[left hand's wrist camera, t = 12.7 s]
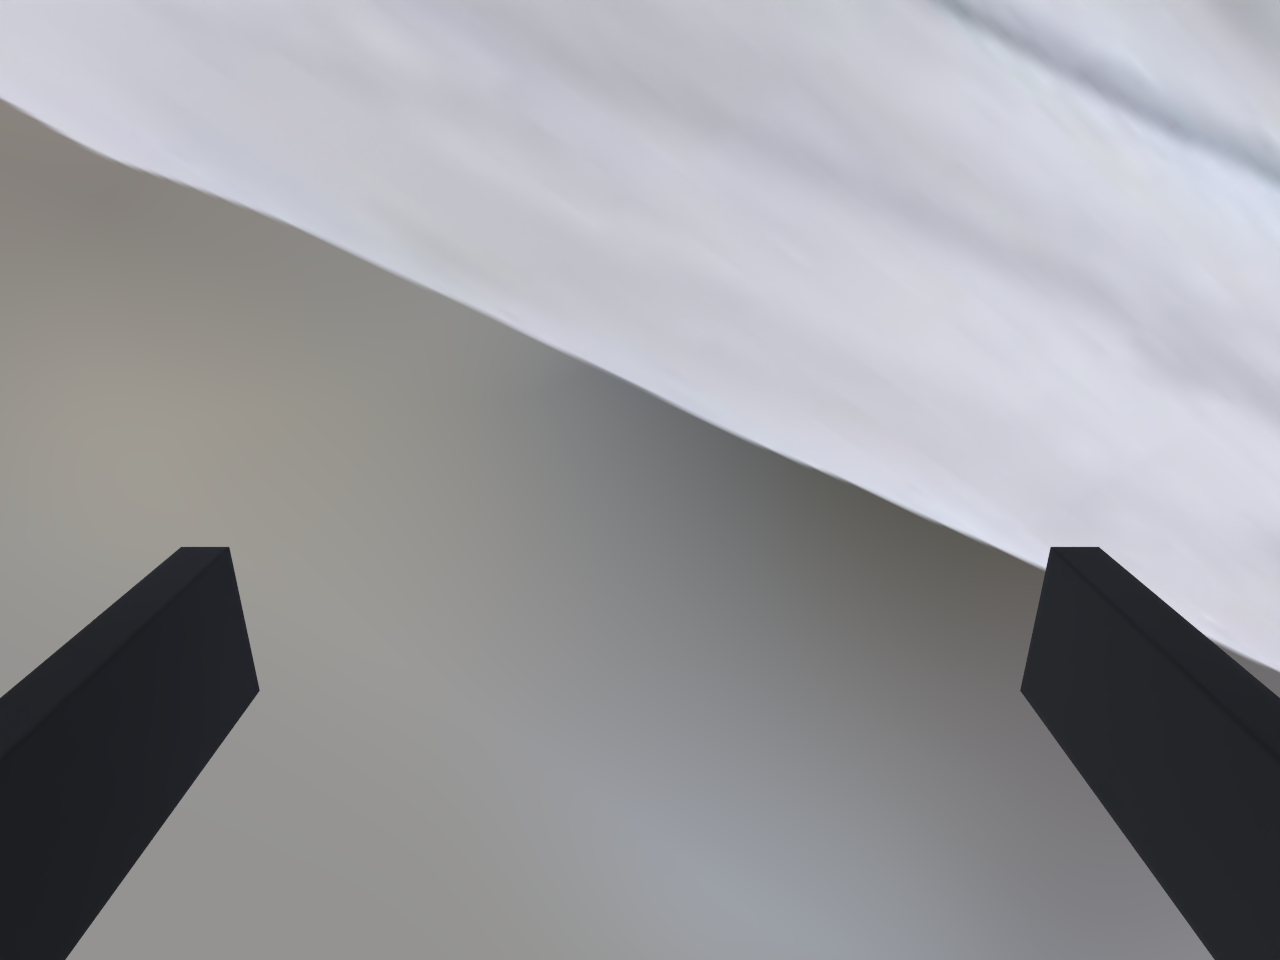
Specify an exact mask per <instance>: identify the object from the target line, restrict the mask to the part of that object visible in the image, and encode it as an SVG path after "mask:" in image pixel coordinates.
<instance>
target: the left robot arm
mask: <svg viewBox="0 0 1280 960" xmlns="http://www.w3.org/2000/svg"><path fill="white" fill-rule="evenodd" d="M1020 691H1021V692H1022V694H1023V695H1024V696H1025V698H1026V699H1027V700H1028V702H1029V703H1030V705H1031V706H1032V707H1033V709H1034V710H1035V712H1036V713H1037V714H1038V716H1039V717H1040V718H1041V720H1042V721H1043V723H1044V724H1045V725H1046V727H1047V728H1048V730H1049V731H1050V732H1051V734H1052V735H1053V736H1054V738H1055V739H1056V741H1057V742H1058V743H1059V745H1060V746H1061V748H1062V749H1063V750H1064V752H1065V753H1066V754H1067V756H1068V757H1069V759H1070V760H1071V761H1072V763H1073V764H1074V766H1075V767H1076V768H1077V770H1078V771H1079V772H1080V774H1081V775H1082V777H1083V778H1084V779H1085V781H1086V782H1087V784H1088V785H1089V786H1090V788H1091V789H1092V790H1093V792H1094V793H1095V795H1096V796H1097V797H1098V799H1099V800H1100V802H1101V803H1102V804H1103V806H1104V807H1105V808H1106V810H1107V811H1108V813H1109V814H1110V815H1111V817H1112V818H1113V820H1114V821H1115V822H1116V824H1117V825H1118V826H1119V828H1120V829H1121V831H1122V832H1123V833H1124V835H1125V836H1126V838H1127V839H1128V840H1129V842H1130V843H1131V844H1132V846H1133V847H1134V849H1135V850H1136V851H1137V853H1138V854H1139V856H1140V857H1141V858H1142V860H1143V861H1144V862H1145V864H1146V865H1147V867H1148V868H1149V869H1150V871H1151V872H1152V874H1153V875H1154V876H1155V878H1156V879H1157V880H1158V882H1159V883H1160V885H1161V886H1162V887H1163V889H1164V890H1165V892H1166V893H1167V894H1168V896H1169V897H1170V898H1171V900H1172V901H1173V903H1174V904H1175V905H1176V907H1177V908H1178V910H1179V911H1180V912H1181V914H1182V915H1183V916H1184V918H1185V919H1186V921H1187V922H1188V923H1189V925H1190V926H1191V927H1192V929H1193V930H1194V932H1195V933H1196V934H1197V936H1198V937H1199V939H1200V940H1201V941H1202V943H1203V944H1204V946H1205V947H1206V948H1207V950H1208V951H1209V952H1210V954H1211V955H1212V957H1213V958H1214V959H1215V960H1280V698H1279V697H1278V696H1277V695H1275V694H1274V693H1273V692H1272V691H1270V690H1269V689H1268V688H1267V687H1266V686H1264V685H1263V684H1262V683H1261V682H1260V681H1259V680H1257V679H1256V678H1255V677H1254V676H1253V675H1251V674H1250V673H1249V672H1248V671H1247V670H1245V669H1244V668H1243V667H1242V666H1241V665H1239V664H1238V663H1237V662H1236V661H1235V660H1233V659H1232V658H1231V657H1230V656H1229V655H1227V654H1226V653H1225V652H1224V651H1223V650H1221V649H1220V648H1219V647H1218V646H1217V645H1215V644H1214V643H1213V642H1212V641H1211V640H1209V639H1208V638H1207V637H1206V636H1205V635H1203V634H1202V633H1201V632H1200V631H1199V630H1197V629H1196V628H1195V627H1194V626H1193V625H1191V624H1190V623H1189V622H1188V621H1187V620H1186V619H1184V618H1183V617H1182V616H1181V615H1180V614H1178V613H1177V612H1176V611H1175V610H1174V609H1172V608H1171V607H1170V606H1169V605H1168V604H1166V603H1165V602H1164V601H1163V600H1162V599H1160V598H1159V597H1158V596H1157V595H1156V594H1154V593H1153V592H1152V591H1151V590H1150V589H1148V588H1147V587H1146V586H1145V585H1144V584H1142V583H1141V582H1140V581H1139V580H1138V579H1136V578H1135V577H1134V576H1133V575H1132V574H1130V573H1129V572H1128V571H1127V570H1126V569H1124V568H1123V567H1122V566H1121V565H1120V564H1118V563H1117V562H1116V561H1115V560H1114V559H1112V558H1111V557H1110V556H1109V555H1108V554H1106V553H1105V552H1104V551H1103V550H1102V549H1100V548H1099V547H1051V549H1050V553H1049V558H1048V563H1047V567H1046V572H1045V577H1044V582H1043V586H1042V591H1041V596H1040V601H1039V605H1038V610H1037V615H1036V620H1035V624H1034V629H1033V634H1032V638H1031V643H1030V648H1029V653H1028V657H1027V662H1026V667H1025V671H1024V676H1023V681H1022V685H1021V690H1020ZM258 692H259V686H258V681H257V676H256V671H255V667H254V662H253V657H252V653H251V648H250V643H249V638H248V634H247V629H246V624H245V620H244V615H243V610H242V605H241V600H240V596H239V591H238V586H237V582H236V577H235V572H234V567H233V563H232V558H231V553H230V549H229V547H181V548H180V549H178V550H177V551H176V552H175V553H174V554H172V555H171V556H170V557H169V558H168V559H166V560H165V561H164V562H163V563H162V564H160V565H159V566H158V567H157V568H156V569H154V570H153V571H152V572H151V573H150V574H148V575H147V576H146V577H145V578H144V579H143V580H141V581H140V582H139V583H138V584H136V585H135V586H134V587H133V588H132V589H130V590H129V591H128V592H127V593H126V594H124V595H123V596H122V597H121V598H120V599H118V600H117V601H116V602H115V603H114V604H112V605H111V606H110V607H109V608H108V609H107V610H105V611H104V612H103V613H102V614H100V615H99V616H98V617H97V618H96V619H94V620H93V621H92V622H91V623H90V624H89V625H87V626H86V627H85V628H84V629H83V630H81V631H80V632H79V633H78V634H77V635H75V636H74V637H73V638H72V639H71V640H69V641H68V642H67V643H66V644H65V645H63V646H62V647H61V648H60V649H59V650H57V651H56V652H55V653H54V654H53V655H51V656H50V657H49V658H48V659H47V660H45V661H44V662H43V663H42V664H41V665H39V666H38V667H37V668H36V669H35V670H34V671H32V672H31V673H30V674H29V675H27V676H26V677H25V678H24V679H23V680H21V681H20V682H19V683H18V684H17V685H15V686H14V687H13V688H12V689H11V690H9V691H8V692H7V693H6V694H5V695H3V696H2V697H1V698H0V960H65V959H66V958H67V957H68V955H69V954H70V952H71V951H72V950H73V948H74V947H75V946H76V944H77V943H78V941H79V940H80V939H81V937H82V936H83V934H84V933H85V932H86V930H87V929H88V928H89V926H90V925H91V923H92V922H93V921H94V919H95V918H96V916H97V915H98V914H99V912H100V911H101V910H102V908H103V907H104V905H105V904H106V903H107V901H108V900H109V898H110V897H111V896H112V894H113V893H114V892H115V890H116V889H117V887H118V886H119V884H120V883H121V882H122V880H123V879H124V878H125V876H126V875H127V874H128V872H129V871H130V869H131V868H132V867H133V865H134V864H135V862H136V861H137V860H138V858H139V857H140V856H141V854H142V853H143V851H144V850H145V849H146V847H147V846H148V844H149V843H150V842H151V840H152V839H153V838H154V836H155V835H156V833H157V832H158V831H159V829H160V828H161V826H162V825H163V824H164V822H165V821H166V819H167V818H168V817H169V815H170V814H171V813H172V811H173V810H174V808H175V807H176V806H177V804H178V803H179V801H180V800H181V799H182V797H183V796H184V795H185V793H186V792H187V790H188V789H189V788H190V786H191V785H192V784H193V782H194V781H195V779H196V778H197V777H198V775H199V774H200V772H201V771H202V770H203V768H204V767H205V765H206V764H207V763H208V761H209V760H210V759H211V757H212V756H213V754H214V753H215V752H216V750H217V749H218V748H219V746H220V745H221V743H222V742H223V741H224V739H225V738H226V736H227V735H228V734H229V732H230V731H231V730H232V728H233V727H234V725H235V724H236V723H237V721H238V720H239V718H240V717H241V716H242V714H243V713H244V712H245V710H246V709H247V707H248V706H249V705H250V703H251V702H252V700H253V699H254V698H255V696H256V695H257V693H258Z"/></svg>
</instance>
